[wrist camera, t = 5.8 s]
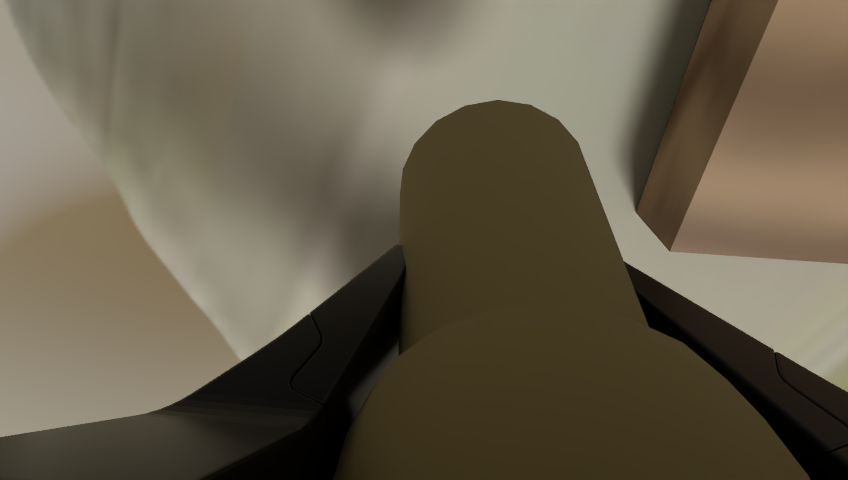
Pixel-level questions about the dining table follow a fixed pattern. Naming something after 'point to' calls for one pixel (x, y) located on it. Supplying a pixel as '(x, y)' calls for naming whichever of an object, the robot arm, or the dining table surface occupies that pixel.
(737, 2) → the walnut base
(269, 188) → the dining table surface
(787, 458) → the olive-brown rounded piece
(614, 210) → the dining table surface
